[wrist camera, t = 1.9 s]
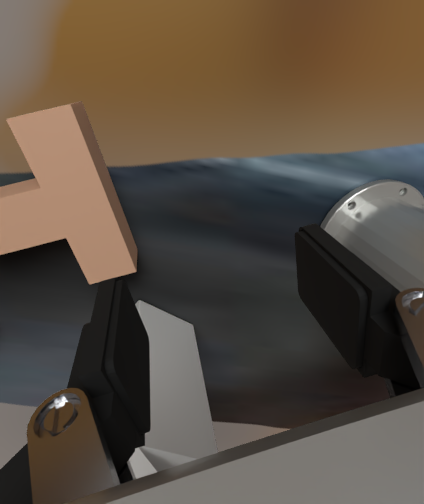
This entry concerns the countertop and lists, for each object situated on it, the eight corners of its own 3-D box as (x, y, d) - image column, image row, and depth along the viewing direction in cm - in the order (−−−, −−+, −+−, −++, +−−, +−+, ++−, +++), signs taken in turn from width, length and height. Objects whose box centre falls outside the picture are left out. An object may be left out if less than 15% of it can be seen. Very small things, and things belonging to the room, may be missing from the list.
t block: (82, 101, 22) (70, 104, 19) (137, 249, 29) (136, 271, 26) (-86, 139, 22) (-129, 149, 18) (11, 283, 28) (-8, 310, 25)
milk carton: (193, 323, 35) (235, 535, 18) (158, 363, 37) (168, 586, 20) (139, 298, 32) (132, 525, 15) (104, 342, 34) (65, 586, 17)
